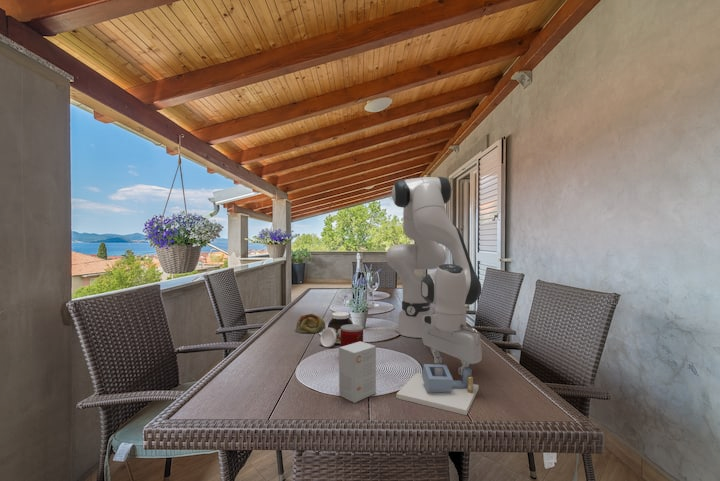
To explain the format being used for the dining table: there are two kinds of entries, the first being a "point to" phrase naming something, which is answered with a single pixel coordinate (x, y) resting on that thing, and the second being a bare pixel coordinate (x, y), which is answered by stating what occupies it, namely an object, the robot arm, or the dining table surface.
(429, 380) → the grey socket with handle
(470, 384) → the dowel
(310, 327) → the pastry
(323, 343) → the spread jar
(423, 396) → the post board
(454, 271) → the robot arm
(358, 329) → the canned food
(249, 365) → the dining table surface
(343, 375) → the small box
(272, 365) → the dining table surface
